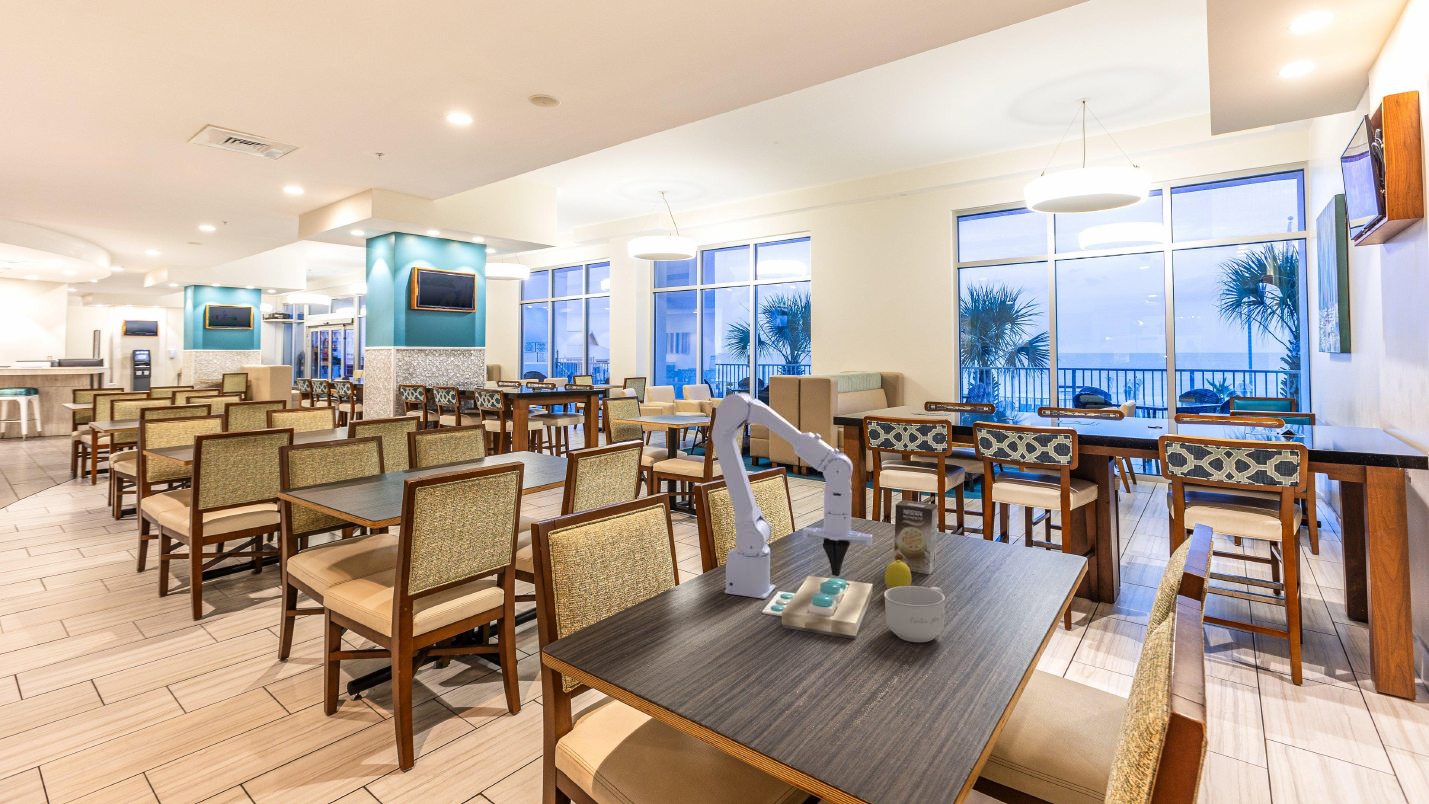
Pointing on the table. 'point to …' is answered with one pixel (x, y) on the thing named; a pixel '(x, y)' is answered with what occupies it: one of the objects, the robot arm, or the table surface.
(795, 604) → the button board
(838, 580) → the button far
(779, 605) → the card
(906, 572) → the lemon
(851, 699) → the table surface
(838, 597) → the button mid
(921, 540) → the coffee box
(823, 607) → the button near
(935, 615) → the teacup
